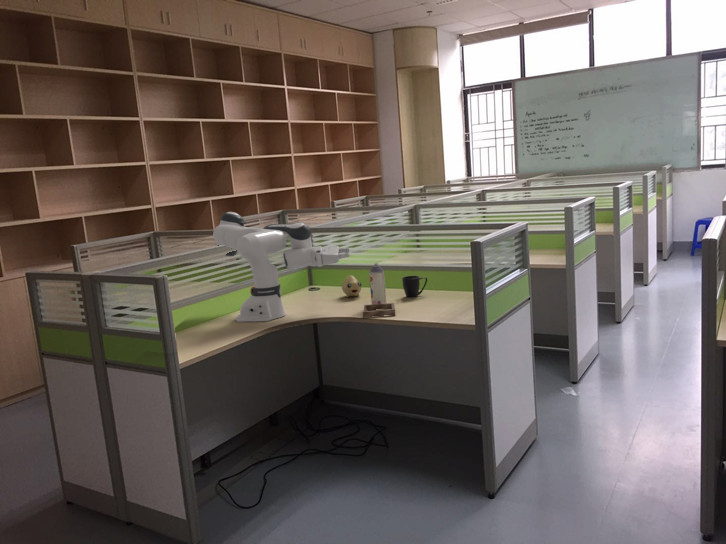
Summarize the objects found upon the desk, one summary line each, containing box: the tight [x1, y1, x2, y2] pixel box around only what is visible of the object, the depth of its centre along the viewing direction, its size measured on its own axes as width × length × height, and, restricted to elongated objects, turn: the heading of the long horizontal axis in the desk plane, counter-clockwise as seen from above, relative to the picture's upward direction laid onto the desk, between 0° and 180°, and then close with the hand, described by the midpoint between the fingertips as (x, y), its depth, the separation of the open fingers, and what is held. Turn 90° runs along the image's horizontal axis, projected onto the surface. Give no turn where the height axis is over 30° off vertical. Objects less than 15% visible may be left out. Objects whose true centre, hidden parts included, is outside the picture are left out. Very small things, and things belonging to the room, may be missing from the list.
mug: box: [401, 275, 428, 299], centre depth 297 cm, size 8×12×10 cm
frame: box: [363, 302, 396, 318], centre depth 270 cm, size 13×13×2 cm
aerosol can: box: [368, 262, 387, 305], centre depth 281 cm, size 7×7×20 cm
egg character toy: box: [341, 274, 362, 298], centre depth 308 cm, size 10×12×11 cm
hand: (349, 252), depth 280 cm, fingers open, 8 cm apart
